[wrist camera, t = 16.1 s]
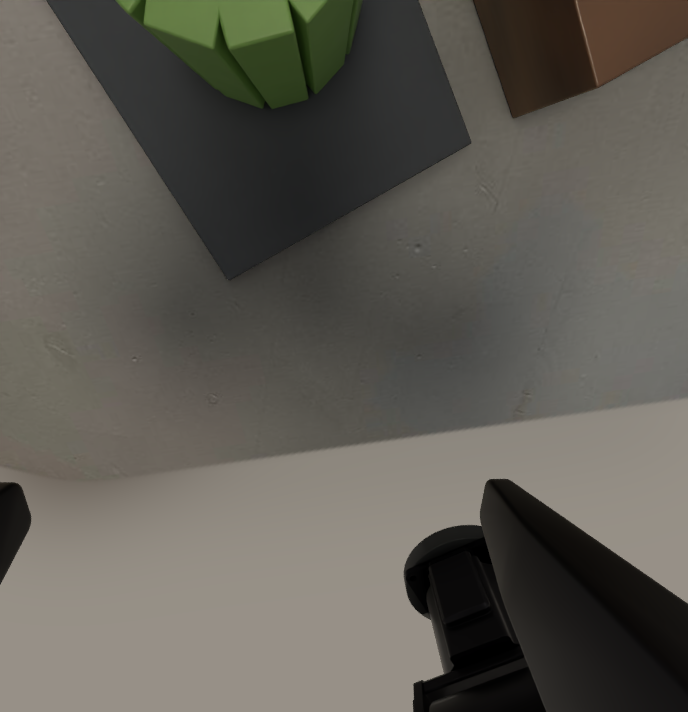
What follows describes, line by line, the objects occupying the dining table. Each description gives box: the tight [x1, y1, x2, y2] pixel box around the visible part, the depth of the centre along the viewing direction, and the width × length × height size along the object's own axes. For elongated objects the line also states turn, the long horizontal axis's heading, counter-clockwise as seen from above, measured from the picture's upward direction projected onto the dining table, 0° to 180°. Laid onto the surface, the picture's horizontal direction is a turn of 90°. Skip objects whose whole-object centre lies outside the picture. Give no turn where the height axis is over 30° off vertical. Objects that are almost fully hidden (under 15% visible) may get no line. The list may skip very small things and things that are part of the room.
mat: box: [47, 0, 471, 280], centre depth 16 cm, size 14×12×1 cm
